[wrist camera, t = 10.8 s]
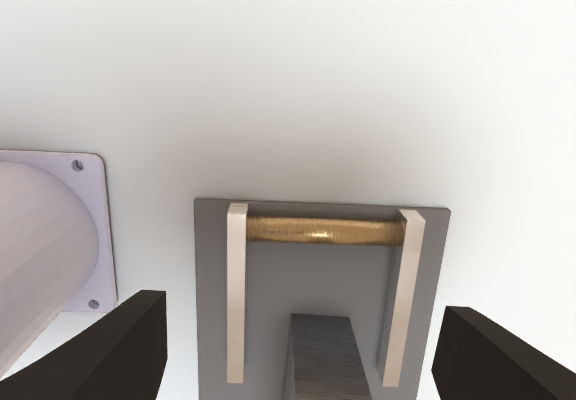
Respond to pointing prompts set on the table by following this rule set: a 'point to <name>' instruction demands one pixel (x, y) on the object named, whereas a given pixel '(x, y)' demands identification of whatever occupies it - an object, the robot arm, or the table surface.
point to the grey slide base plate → (307, 295)
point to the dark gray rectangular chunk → (323, 360)
